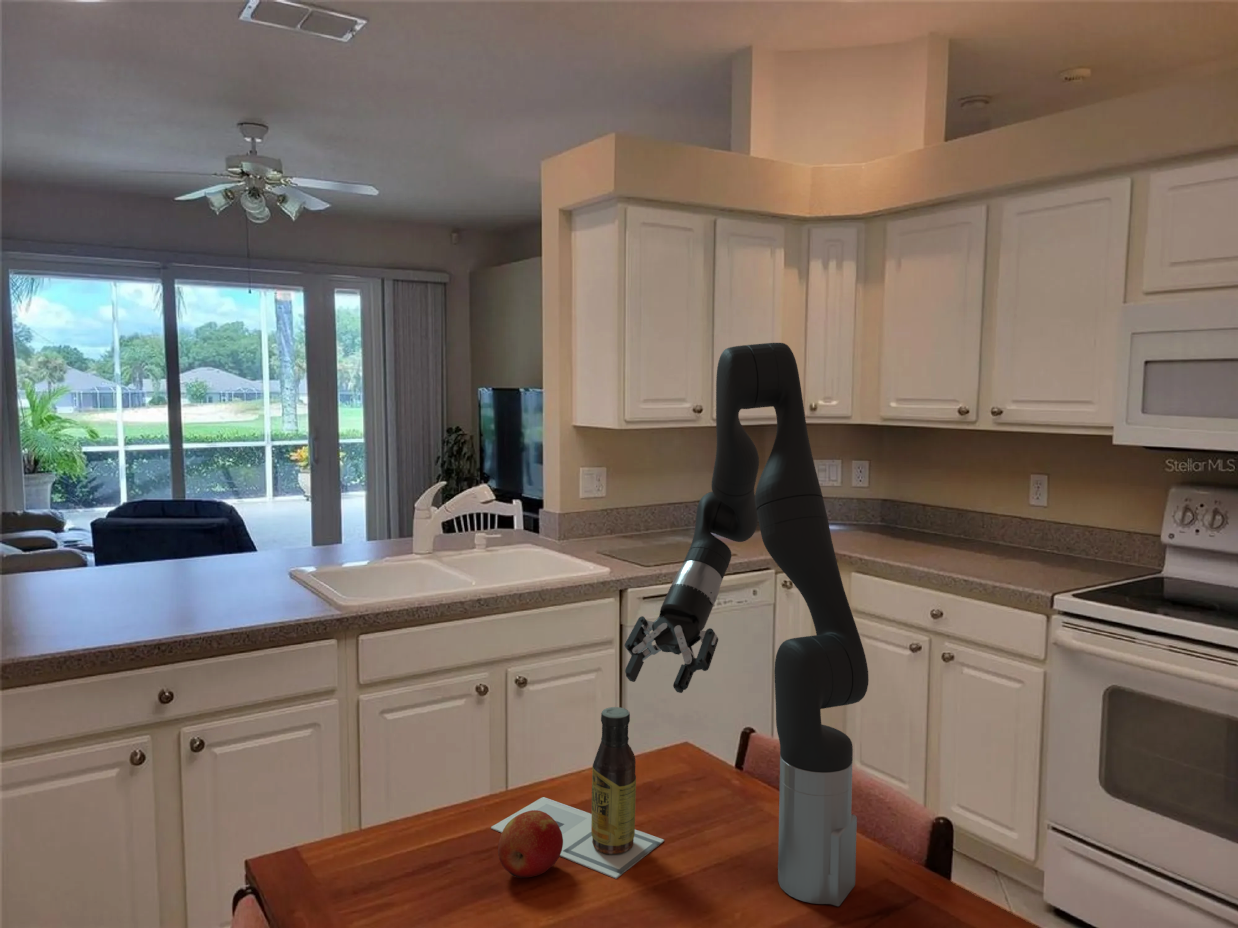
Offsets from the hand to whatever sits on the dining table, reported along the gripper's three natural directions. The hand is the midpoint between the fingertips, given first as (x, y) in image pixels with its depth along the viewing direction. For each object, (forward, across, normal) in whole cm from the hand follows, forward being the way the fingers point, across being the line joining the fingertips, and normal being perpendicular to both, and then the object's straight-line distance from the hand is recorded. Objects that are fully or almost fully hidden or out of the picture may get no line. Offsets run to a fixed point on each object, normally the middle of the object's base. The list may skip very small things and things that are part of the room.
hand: (653, 684), depth 127 cm
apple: (+31, -5, -1) cm, 31 cm away
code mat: (+22, -6, +7) cm, 24 cm away
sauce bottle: (+22, 0, +7) cm, 23 cm away
